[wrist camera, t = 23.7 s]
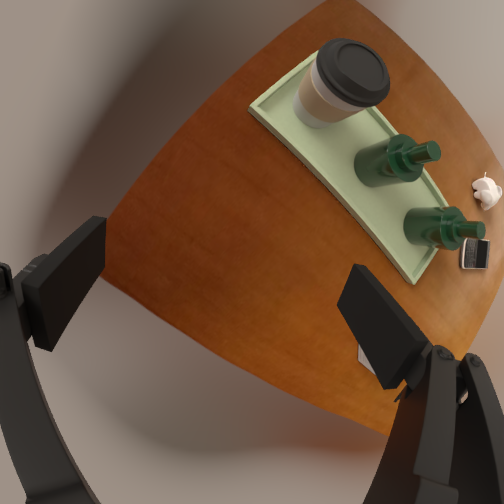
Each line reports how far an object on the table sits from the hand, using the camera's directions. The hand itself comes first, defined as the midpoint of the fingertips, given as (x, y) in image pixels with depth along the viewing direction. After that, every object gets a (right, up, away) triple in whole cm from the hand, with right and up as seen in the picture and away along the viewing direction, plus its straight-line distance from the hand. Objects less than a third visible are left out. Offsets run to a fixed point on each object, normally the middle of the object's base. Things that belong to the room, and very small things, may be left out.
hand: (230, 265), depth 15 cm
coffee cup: (+10, +22, +24) cm, 34 cm away
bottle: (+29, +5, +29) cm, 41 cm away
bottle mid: (+19, +14, +27) cm, 36 cm away
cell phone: (+47, 0, +33) cm, 58 cm away
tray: (+19, +14, +27) cm, 36 cm away
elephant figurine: (+48, +13, +32) cm, 59 cm away
